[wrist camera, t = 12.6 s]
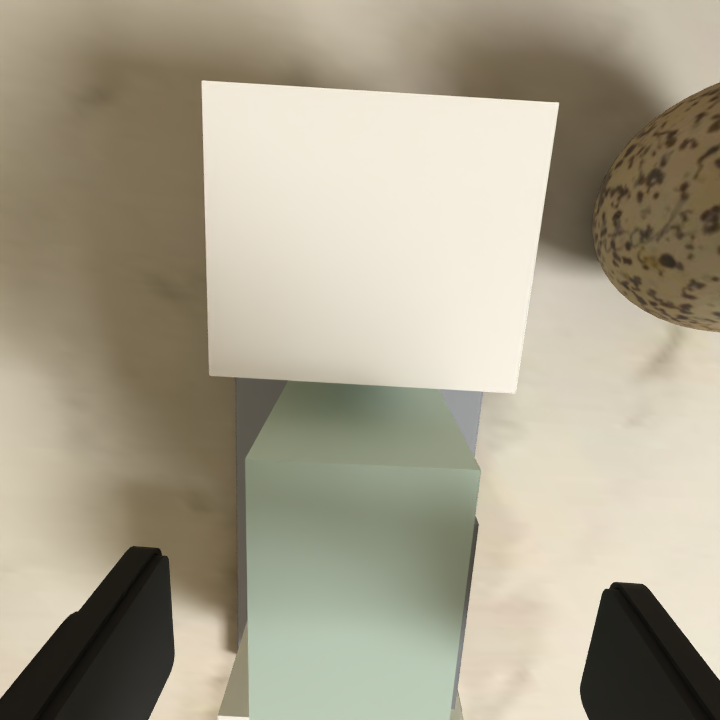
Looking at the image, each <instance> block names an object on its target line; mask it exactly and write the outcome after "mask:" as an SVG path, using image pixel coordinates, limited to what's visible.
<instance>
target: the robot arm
mask: <svg viewBox="0 0 720 720" xmlns="http://www.w3.org/2000/svg"><path fill="white" fill-rule="evenodd" d="M174 654H175V651H174V635H173V619H172V603H171V587H170V571H169V559H168V557H167V556H162V553H161V550H160V549H159V548H150V547H136V546H133V547H130V548H129V549H128V550H127V551H126V552H125V554H124V555H123V556H122V557H121V559H120V560H119V561H118V562H117V564H116V565H115V566H114V567H113V569H112V570H111V571H110V573H109V574H108V575H107V576H106V578H105V579H104V580H103V581H102V583H101V584H100V585H99V586H98V588H97V589H96V590H95V591H94V593H93V594H92V595H91V596H90V598H89V599H88V600H87V601H86V603H85V604H84V605H83V606H82V608H81V609H80V610H79V611H78V612H75V613H73V614H71V615H70V616H69V617H68V618H67V619H66V620H65V621H64V622H63V623H62V624H61V625H60V626H59V628H58V629H57V630H56V631H55V633H54V634H53V635H52V636H51V637H50V639H49V640H48V641H47V642H46V644H45V645H44V646H43V647H42V648H41V650H40V651H39V652H38V653H37V655H36V656H35V657H34V658H33V659H32V661H31V662H30V663H29V664H28V666H27V667H26V668H25V669H24V670H23V672H22V673H21V674H20V675H19V677H18V678H17V679H16V680H15V681H14V683H13V684H12V685H11V686H10V688H9V689H8V690H7V691H6V692H5V694H4V695H3V696H2V697H1V699H0V720H148V719H149V717H150V715H151V713H152V711H153V709H154V706H155V704H156V702H157V700H158V698H159V696H160V694H161V692H162V690H163V688H164V685H165V683H166V681H167V679H168V677H169V675H170V672H171V670H172V666H173V662H174ZM580 695H581V700H582V704H583V707H584V709H585V712H586V714H587V716H588V718H589V720H720V680H719V679H718V678H717V676H716V675H715V674H714V673H713V671H712V670H711V669H710V667H709V666H708V665H707V663H706V662H705V661H704V660H703V658H702V657H701V656H700V654H699V653H698V652H697V651H696V649H695V648H694V647H693V645H692V644H691V643H690V642H689V640H688V639H687V638H686V636H685V635H684V634H683V632H682V631H681V630H680V629H679V627H678V626H677V625H676V623H675V622H674V621H673V620H672V618H671V617H670V616H669V614H668V613H667V612H666V610H665V609H664V608H663V607H662V605H661V604H660V603H659V601H658V600H657V599H656V598H655V596H654V595H653V594H652V592H651V591H650V590H649V589H648V588H647V587H646V586H645V585H643V584H635V583H622V582H614V583H612V584H611V586H610V588H609V589H605V590H604V591H603V593H602V596H601V601H600V605H599V609H598V613H597V617H596V622H595V626H594V630H593V634H592V638H591V643H590V647H589V651H588V655H587V659H586V664H585V668H584V672H583V676H582V681H581V685H580Z"/></svg>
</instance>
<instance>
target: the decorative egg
mask: <svg viewBox="0 0 720 720" xmlns="http://www.w3.org/2000/svg"><path fill="white" fill-rule="evenodd" d="M592 227H593V241H594V246H595V251H596V254H597V257H598V259H599V262H600V264H601V266H602V269H603V270H604V272H605V274H606V275H607V277H608V278H609V280H610V281H611V283H612V284H613V285H614V286H615V287H616V288H617V290H618V291H619V292H620V293H621V294H622V295H624V296H625V297H626V298H627V299H628V300H629V301H631V302H632V303H634V304H635V305H637V306H638V307H640V308H641V309H642V310H644V311H646V312H648V313H650V314H652V315H654V316H656V317H657V318H660V319H663V320H665V321H668V322H671V323H674V324H677V325H680V326H684V327H688V328H693V329H698V330H705V331H713V332H720V83H718V84H715V85H713V86H710V87H708V88H706V89H704V90H702V91H700V92H698V93H696V94H694V95H691V96H689V97H688V98H686V99H684V100H682V101H681V102H679V103H677V104H675V105H674V106H672V107H671V108H669V109H668V110H667V111H665V112H664V113H662V114H661V115H659V116H658V117H657V118H655V119H654V120H653V121H652V122H651V123H649V124H648V125H647V126H646V127H645V128H643V129H642V130H641V131H640V132H639V133H638V134H637V135H636V136H635V137H634V138H633V139H632V140H631V141H630V142H629V144H628V145H627V146H626V147H625V149H624V150H623V151H622V152H621V153H620V155H619V156H618V157H617V159H616V160H615V162H614V163H613V165H612V167H611V168H610V170H609V172H608V173H607V175H606V177H605V178H604V181H603V183H602V185H601V188H600V190H599V193H598V196H597V199H596V203H595V208H594V213H593V223H592Z"/></svg>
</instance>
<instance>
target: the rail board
mask: <svg viewBox="0 0 720 720" xmlns="http://www.w3.org/2000/svg"><path fill="white" fill-rule="evenodd" d="M558 108H559V103H557V102H540V101H524V100H508V99H492V98H476V97H460V96H444V95H428V94H412V93H396V92H379V91H363V90H347V89H331V88H315V87H299V86H283V85H267V84H251V83H235V82H218V81H202V118H203V157H204V196H205V235H206V274H207V313H208V352H209V376H221V377H235V379H236V473H237V567H238V652H237V655H236V659H235V662H234V665H233V668H232V671H231V675H230V678H229V681H228V684H227V688H226V691H225V694H224V697H223V701H222V704H221V707H220V710H219V714H218V720H249V673H248V609H247V545H246V481H245V458H246V457H247V455H248V453H249V451H250V449H251V447H252V446H253V444H254V442H255V440H256V438H257V437H258V435H259V433H260V431H261V429H262V427H263V426H264V424H265V422H266V420H267V418H268V417H269V415H270V413H271V411H272V409H273V407H274V406H275V404H276V402H277V400H278V398H279V397H280V395H281V393H282V391H283V389H284V387H285V386H286V384H287V382H288V380H291V381H308V382H326V383H343V384H360V385H378V386H395V387H413V388H430V389H439V390H440V392H441V394H442V396H443V398H444V400H445V402H446V404H447V406H448V408H449V410H450V412H451V413H452V415H453V417H454V419H455V421H456V423H457V425H458V427H459V429H460V431H461V433H462V435H463V437H464V439H465V440H466V442H467V444H468V446H469V448H470V450H471V452H472V454H473V456H474V457H475V449H476V442H477V434H478V426H479V419H480V411H481V404H482V396H483V392H500V393H516V388H517V381H518V374H519V368H520V361H521V354H522V348H523V341H524V334H525V328H526V321H527V314H528V308H529V301H530V294H531V288H532V281H533V274H534V268H535V261H536V254H537V248H538V241H539V234H540V228H541V221H542V215H543V208H544V201H545V195H546V188H547V181H548V175H549V168H550V161H551V155H552V148H553V141H554V135H555V128H556V121H557V115H558ZM450 720H463V716H462V708H461V703H460V698H459V694H458V689H457V697H456V704H455V709H451V712H450Z"/></svg>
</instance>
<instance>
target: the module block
mask: <svg viewBox="0 0 720 720" xmlns="http://www.w3.org/2000/svg"><path fill="white" fill-rule="evenodd" d="M480 474H481V469H480V467H479V465H478V464H477V462H476V460H475V458H474V456H473V454H472V452H471V450H470V448H469V446H468V444H467V442H466V440H465V439H464V437H463V435H462V433H461V431H460V429H459V427H458V425H457V423H456V421H455V419H454V417H453V415H452V413H451V412H450V410H449V408H448V406H447V404H446V402H445V400H444V398H443V396H442V394H441V392H440V390H439V389H430V388H413V387H395V386H378V385H360V384H343V383H326V382H308V381H291V380H288V382H287V384H286V386H285V387H284V389H283V391H282V393H281V395H280V397H279V398H278V400H277V402H276V404H275V406H274V407H273V409H272V411H271V413H270V415H269V417H268V418H267V420H266V422H265V424H264V426H263V427H262V429H261V431H260V433H259V435H258V437H257V438H256V440H255V442H254V444H253V446H252V447H251V449H250V451H249V453H248V455H247V457H246V458H245V481H246V545H247V609H248V673H249V720H450V712H451V709H455V704H456V697H457V689H458V681H459V673H460V666H461V658H462V650H463V642H464V635H465V627H466V619H467V611H468V603H469V596H470V588H471V580H472V572H473V565H474V557H475V549H476V541H477V534H478V526H479V524H478V521H477V519H476V516H475V514H476V506H477V498H478V490H479V482H480Z"/></svg>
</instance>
